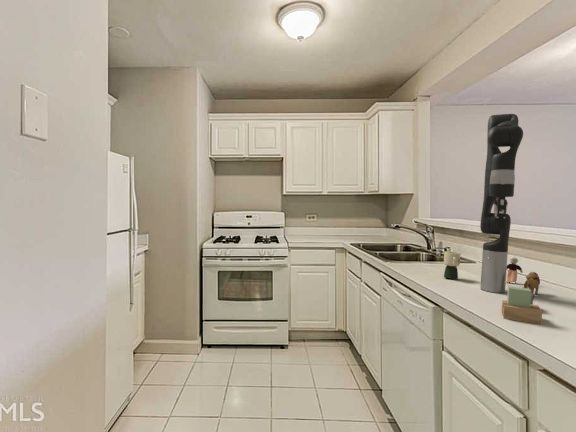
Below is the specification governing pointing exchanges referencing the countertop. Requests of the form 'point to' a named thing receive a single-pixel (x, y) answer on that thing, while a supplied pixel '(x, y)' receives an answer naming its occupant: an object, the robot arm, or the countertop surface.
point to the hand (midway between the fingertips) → (498, 228)
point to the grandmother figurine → (513, 270)
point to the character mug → (451, 264)
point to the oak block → (522, 313)
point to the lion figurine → (532, 282)
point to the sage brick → (519, 297)
